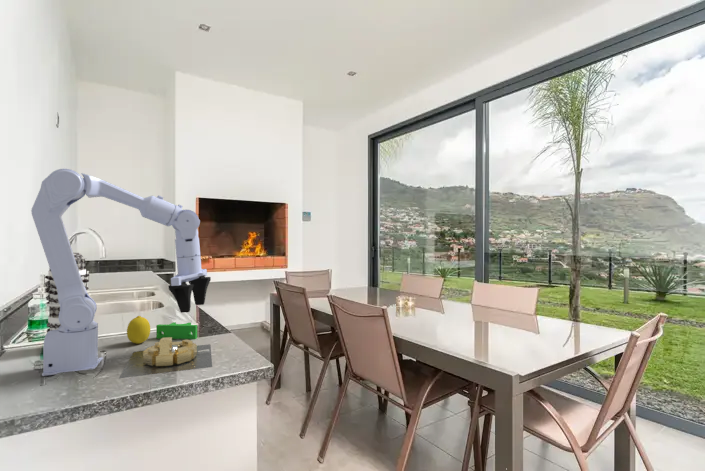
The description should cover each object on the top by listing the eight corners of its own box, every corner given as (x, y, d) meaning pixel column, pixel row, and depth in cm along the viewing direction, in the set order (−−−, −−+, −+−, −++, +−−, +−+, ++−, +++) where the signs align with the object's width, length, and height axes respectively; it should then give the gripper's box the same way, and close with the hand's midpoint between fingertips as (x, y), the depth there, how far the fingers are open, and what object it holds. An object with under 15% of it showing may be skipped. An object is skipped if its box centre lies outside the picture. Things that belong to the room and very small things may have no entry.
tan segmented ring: (152, 351, 93) (152, 328, 93) (199, 349, 95) (199, 326, 95) (137, 367, 82) (137, 341, 82) (190, 364, 84) (190, 339, 84)
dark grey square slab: (119, 380, 77) (119, 364, 77) (133, 354, 93) (133, 340, 93) (212, 369, 83) (212, 354, 83) (210, 346, 100) (210, 333, 100)
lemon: (154, 344, 102) (154, 315, 101) (133, 349, 97) (133, 319, 97) (143, 341, 105) (144, 312, 105) (122, 345, 100) (122, 316, 100)
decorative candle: (87, 349, 97) (88, 253, 96) (41, 355, 92) (41, 254, 92) (90, 340, 104) (90, 251, 104) (47, 345, 100) (48, 252, 99)
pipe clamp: (201, 338, 109) (201, 322, 109) (195, 342, 105) (195, 325, 105) (163, 337, 109) (163, 321, 109) (156, 341, 105) (156, 324, 105)
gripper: (189, 258, 88) (193, 315, 89) (215, 252, 103) (219, 301, 104) (160, 260, 89) (165, 316, 90) (191, 253, 103) (195, 302, 104)
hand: (192, 308), depth 97 cm, fingers open, 7 cm apart
